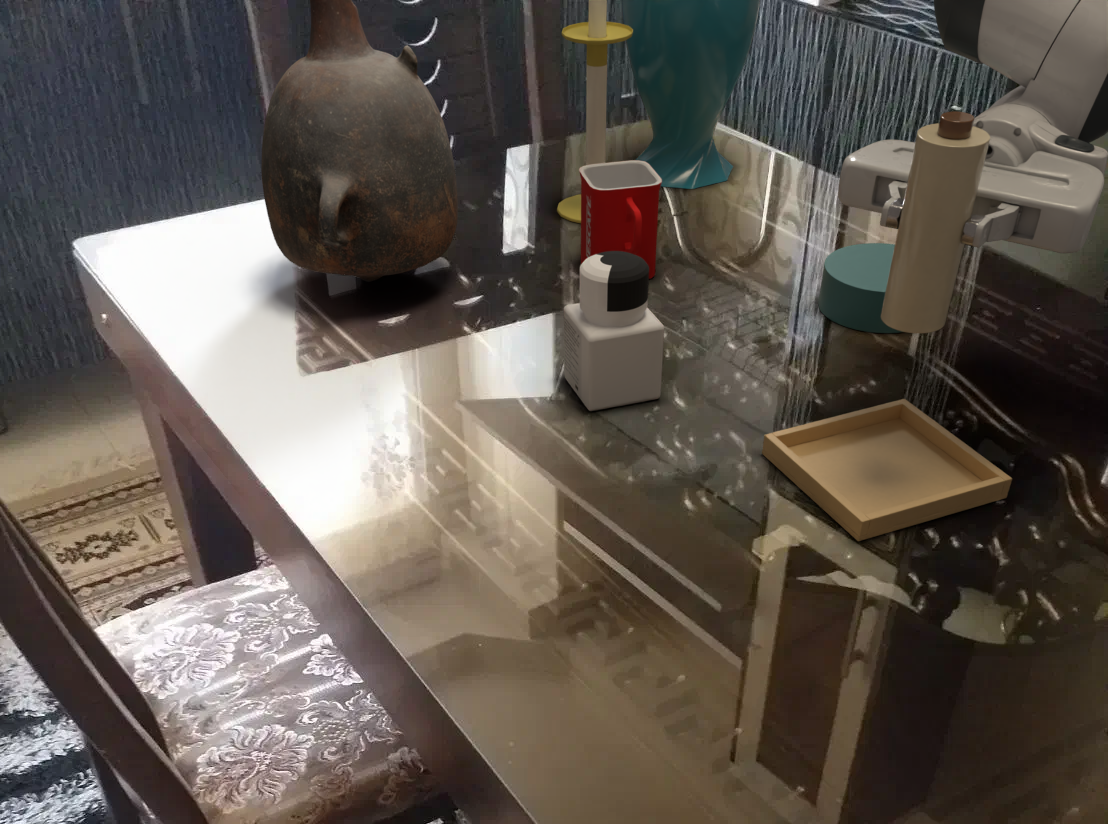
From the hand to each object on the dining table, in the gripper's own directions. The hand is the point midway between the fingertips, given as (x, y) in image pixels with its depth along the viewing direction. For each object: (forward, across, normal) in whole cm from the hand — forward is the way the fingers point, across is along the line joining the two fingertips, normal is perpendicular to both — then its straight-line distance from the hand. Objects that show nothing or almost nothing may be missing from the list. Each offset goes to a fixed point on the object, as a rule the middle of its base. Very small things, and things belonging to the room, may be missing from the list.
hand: (930, 226), depth 88 cm
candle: (-40, -56, +23) cm, 73 cm away
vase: (-59, -54, +23) cm, 83 cm away
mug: (-25, -43, +23) cm, 54 cm away
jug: (-8, -67, +23) cm, 71 cm away
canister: (-1, 0, +8) cm, 8 cm away
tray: (-1, 0, +22) cm, 22 cm away
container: (-1, -29, +22) cm, 37 cm away
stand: (-33, -14, +22) cm, 42 cm away
